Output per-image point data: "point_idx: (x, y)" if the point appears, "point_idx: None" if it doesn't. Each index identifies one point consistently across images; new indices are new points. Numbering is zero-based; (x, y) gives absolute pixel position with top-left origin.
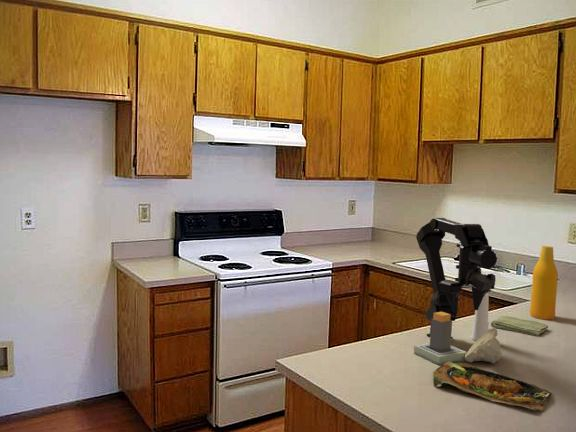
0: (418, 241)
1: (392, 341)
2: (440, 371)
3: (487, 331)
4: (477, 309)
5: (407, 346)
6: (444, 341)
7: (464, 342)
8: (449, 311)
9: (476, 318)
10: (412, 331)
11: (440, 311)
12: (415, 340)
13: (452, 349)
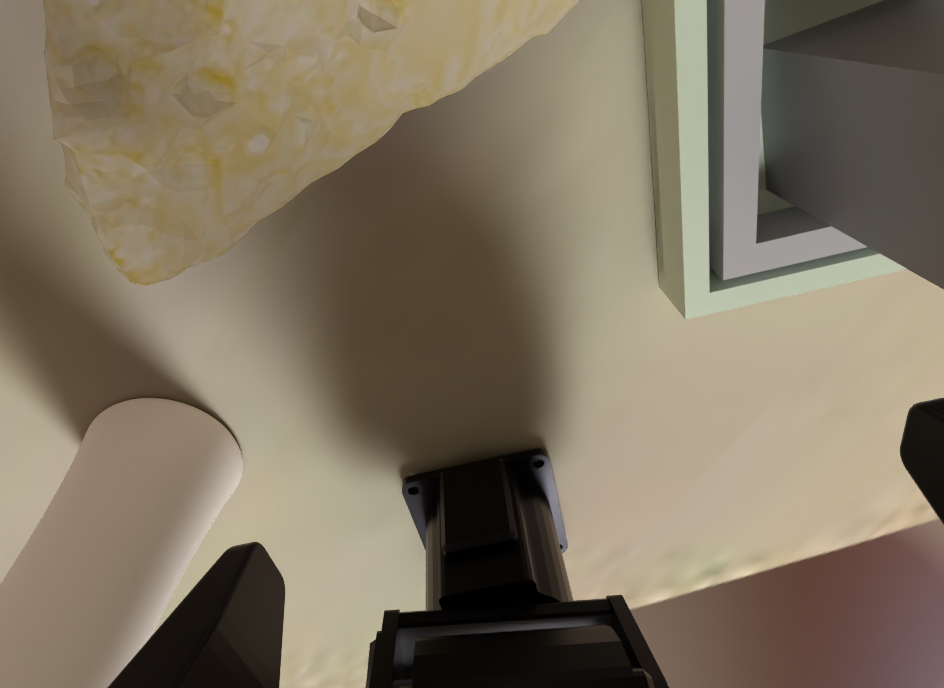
0: None
1: (883, 466)
2: None
3: (185, 208)
4: (237, 554)
5: (871, 368)
6: None
7: (346, 403)
8: (515, 684)
9: (141, 614)
10: None
11: (645, 680)
12: (709, 471)
13: (760, 58)
